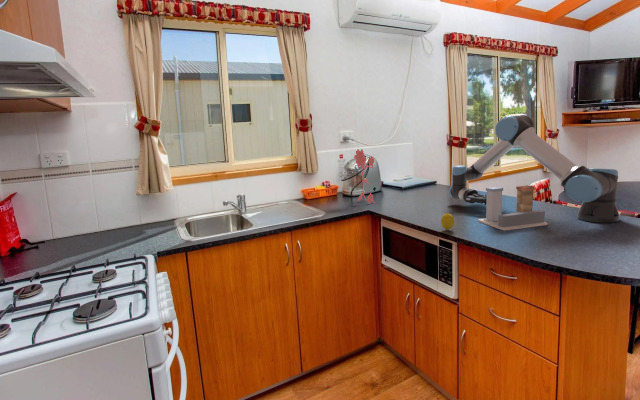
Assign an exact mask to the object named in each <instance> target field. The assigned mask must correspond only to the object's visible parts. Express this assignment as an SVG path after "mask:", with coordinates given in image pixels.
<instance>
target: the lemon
mask: <svg viewBox="0 0 640 400" xmlns="http://www.w3.org/2000/svg"><path fill="white" fill-rule="evenodd" d="M440 223H441V226H442V228H444V229H445V230H446V231H449V230H451V229H452V228H453V227H454V225H455V218H454V216H453V215H452V214H451V213H449V212H446V213H445V214H443V215H442V217H441V220H440Z"/></svg>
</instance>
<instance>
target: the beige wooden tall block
mask: <svg viewBox="0 0 640 400" xmlns="http://www.w3.org/2000/svg"><path fill="white" fill-rule="evenodd" d="M515 187H516V188H515V190H516V209H515V211H516V212H515V213H519V212H527V211H533V204H534V203H533V201H534V190H535V188H536V187H535V186H532V185H518V186H515Z"/></svg>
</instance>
